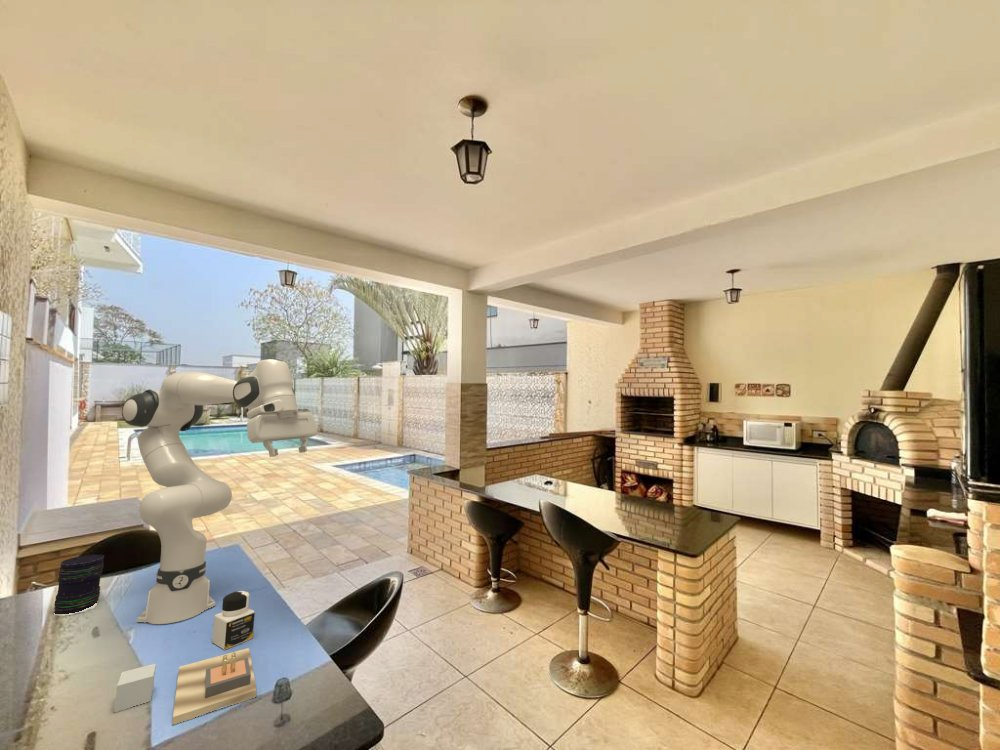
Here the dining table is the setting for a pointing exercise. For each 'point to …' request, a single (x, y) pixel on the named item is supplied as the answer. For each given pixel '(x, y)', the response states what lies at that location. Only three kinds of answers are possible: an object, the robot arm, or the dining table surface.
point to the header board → (196, 689)
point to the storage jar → (78, 583)
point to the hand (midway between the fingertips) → (289, 454)
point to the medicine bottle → (233, 621)
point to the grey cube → (135, 687)
